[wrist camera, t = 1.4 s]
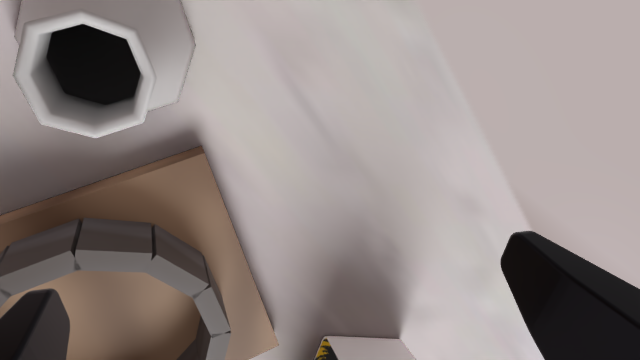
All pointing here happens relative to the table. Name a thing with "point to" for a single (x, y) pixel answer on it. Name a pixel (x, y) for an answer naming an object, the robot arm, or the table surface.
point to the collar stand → (140, 266)
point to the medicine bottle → (362, 349)
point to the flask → (101, 61)
